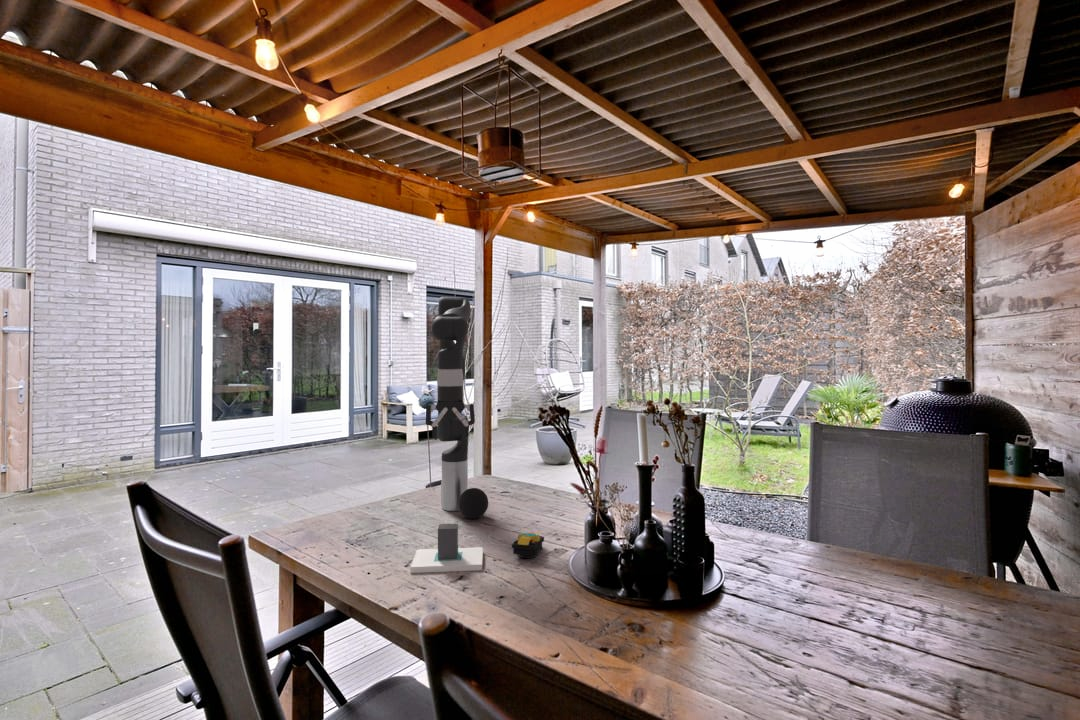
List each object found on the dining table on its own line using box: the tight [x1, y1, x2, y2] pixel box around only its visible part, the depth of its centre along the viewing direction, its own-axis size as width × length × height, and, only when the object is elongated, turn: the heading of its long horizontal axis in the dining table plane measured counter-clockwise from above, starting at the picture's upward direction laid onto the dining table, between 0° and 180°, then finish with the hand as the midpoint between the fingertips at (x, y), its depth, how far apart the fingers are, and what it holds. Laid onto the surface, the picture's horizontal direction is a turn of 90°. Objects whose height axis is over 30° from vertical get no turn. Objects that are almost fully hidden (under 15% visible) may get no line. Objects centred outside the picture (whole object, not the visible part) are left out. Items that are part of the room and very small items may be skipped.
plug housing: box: [437, 523, 459, 560], centre depth 140 cm, size 5×4×8 cm
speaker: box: [458, 487, 489, 520], centre depth 178 cm, size 10×10×10 cm
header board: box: [409, 546, 484, 574], centre depth 140 cm, size 18×12×4 cm, turn 95°
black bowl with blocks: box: [511, 531, 545, 559], centre depth 146 cm, size 6×13×6 cm, turn 165°
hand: (450, 439), depth 156 cm, fingers open, 8 cm apart
